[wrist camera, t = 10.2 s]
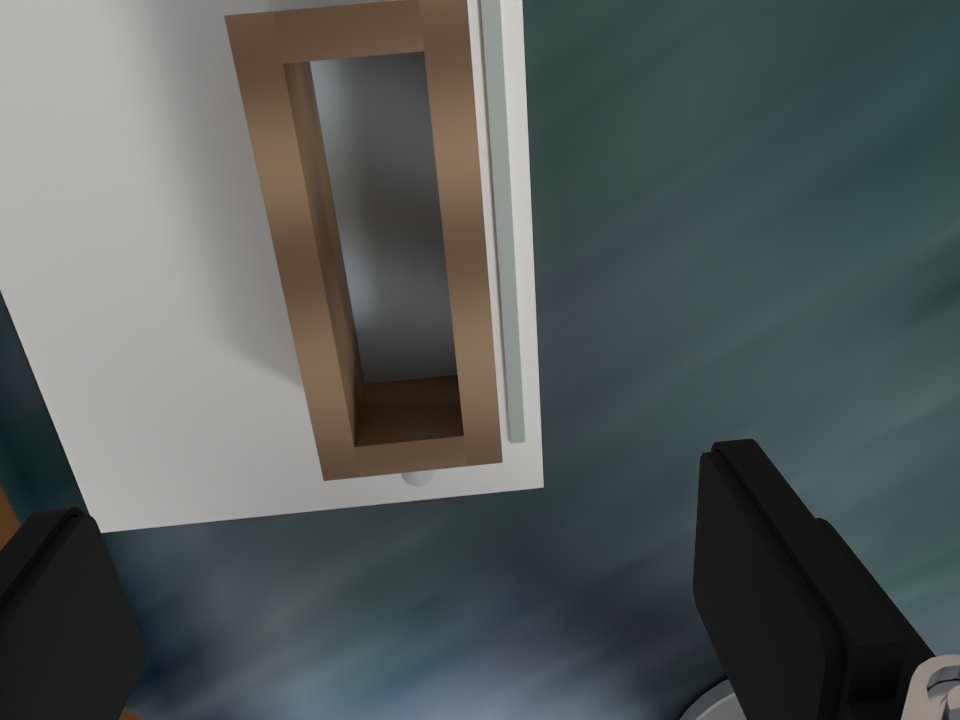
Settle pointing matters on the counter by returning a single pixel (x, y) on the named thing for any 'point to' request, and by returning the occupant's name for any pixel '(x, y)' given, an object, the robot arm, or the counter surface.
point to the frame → (377, 227)
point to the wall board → (208, 264)
